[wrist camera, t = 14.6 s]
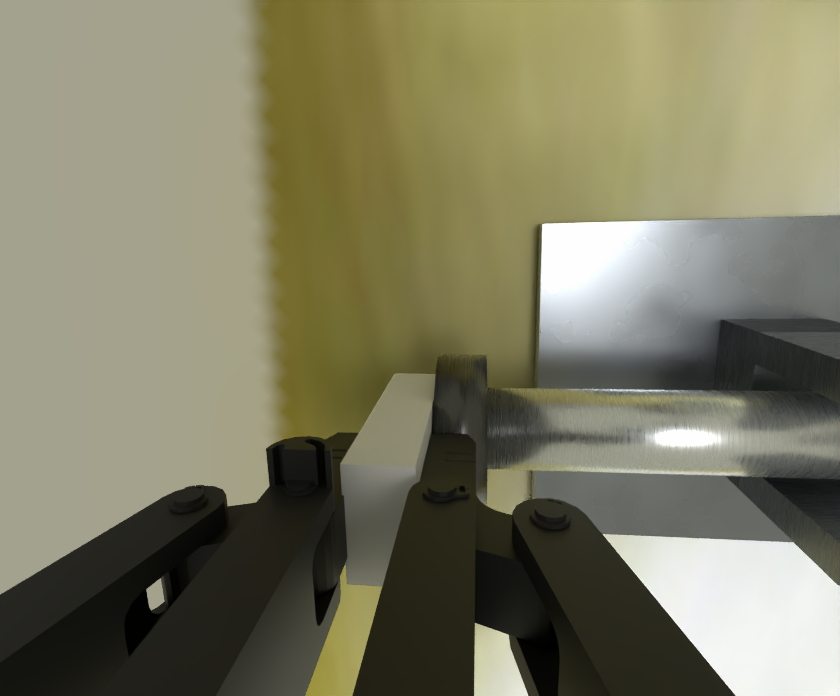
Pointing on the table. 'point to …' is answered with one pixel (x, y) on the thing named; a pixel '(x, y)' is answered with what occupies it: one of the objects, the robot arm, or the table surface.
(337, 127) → the table surface
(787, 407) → the shaft
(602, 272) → the bolt fixture plate
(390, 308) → the table surface
